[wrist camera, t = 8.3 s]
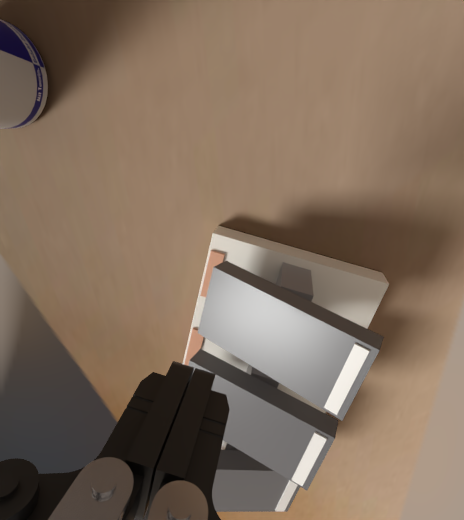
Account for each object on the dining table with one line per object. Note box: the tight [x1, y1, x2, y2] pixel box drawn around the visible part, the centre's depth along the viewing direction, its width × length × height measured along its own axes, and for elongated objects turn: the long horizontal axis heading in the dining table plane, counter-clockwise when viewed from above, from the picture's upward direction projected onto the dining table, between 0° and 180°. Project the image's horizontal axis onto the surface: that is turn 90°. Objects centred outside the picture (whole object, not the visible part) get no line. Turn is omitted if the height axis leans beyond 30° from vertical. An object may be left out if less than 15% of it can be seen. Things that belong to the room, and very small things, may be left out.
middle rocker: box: [188, 349, 338, 490], centre depth 18 cm, size 4×8×1 cm, turn 76°
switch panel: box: [183, 226, 389, 450], centre depth 21 cm, size 16×10×4 cm, turn 166°
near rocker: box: [198, 261, 384, 421], centre depth 16 cm, size 4×8×1 cm, turn 76°
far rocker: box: [212, 450, 300, 512], centre depth 21 cm, size 4×8×1 cm, turn 76°
